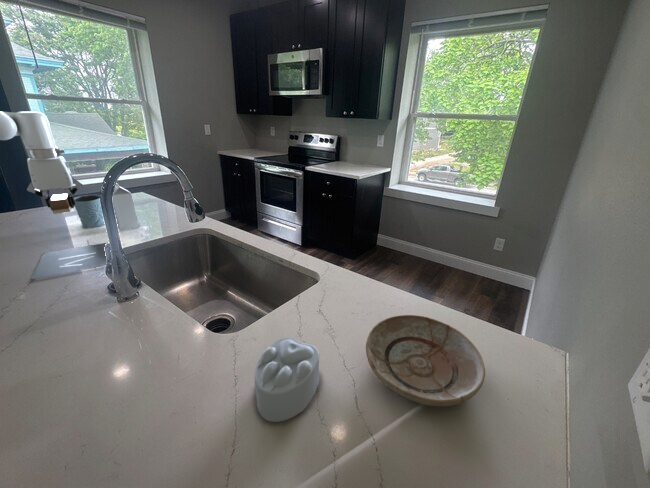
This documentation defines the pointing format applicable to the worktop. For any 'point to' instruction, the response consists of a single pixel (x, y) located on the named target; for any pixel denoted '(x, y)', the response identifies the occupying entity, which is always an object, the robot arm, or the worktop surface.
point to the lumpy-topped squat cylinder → (286, 379)
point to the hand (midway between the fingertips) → (63, 207)
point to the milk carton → (124, 208)
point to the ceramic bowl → (425, 360)
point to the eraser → (60, 203)
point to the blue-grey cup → (89, 210)
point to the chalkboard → (70, 260)
